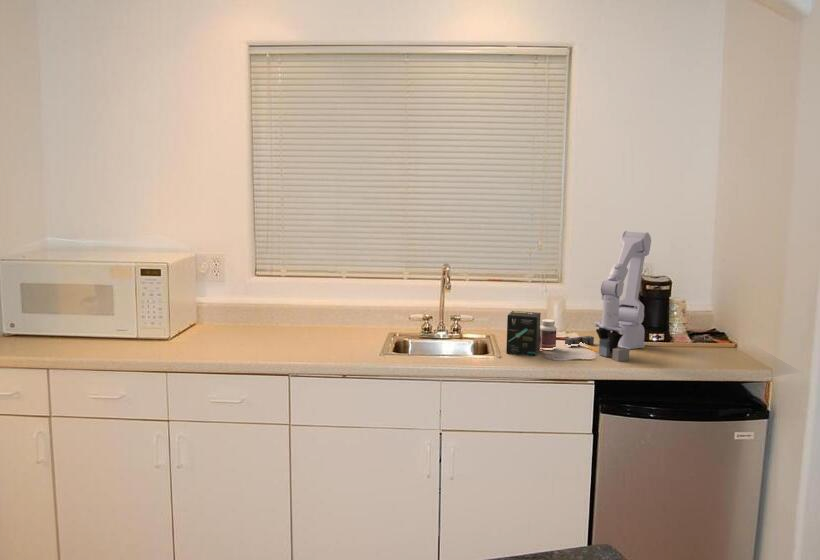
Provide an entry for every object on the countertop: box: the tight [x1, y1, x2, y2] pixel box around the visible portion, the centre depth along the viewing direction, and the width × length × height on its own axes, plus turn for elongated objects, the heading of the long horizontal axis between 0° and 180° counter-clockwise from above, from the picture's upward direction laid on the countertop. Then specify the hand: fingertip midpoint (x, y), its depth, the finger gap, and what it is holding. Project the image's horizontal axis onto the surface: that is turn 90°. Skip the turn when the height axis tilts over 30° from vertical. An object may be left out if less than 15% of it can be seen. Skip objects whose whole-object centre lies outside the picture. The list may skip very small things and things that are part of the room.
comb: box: [564, 335, 595, 346], centre depth 276 cm, size 12×2×3 cm, turn 116°
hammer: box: [579, 342, 631, 362], centre depth 265 cm, size 5×26×4 cm, turn 26°
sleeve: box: [598, 338, 619, 358], centre depth 261 cm, size 5×4×6 cm
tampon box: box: [505, 310, 541, 357], centre depth 264 cm, size 11×9×15 cm
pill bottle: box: [540, 318, 557, 348], centre depth 269 cm, size 6×6×11 cm
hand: (608, 349), depth 261 cm, fingers closed on sleeve, 4 cm apart
